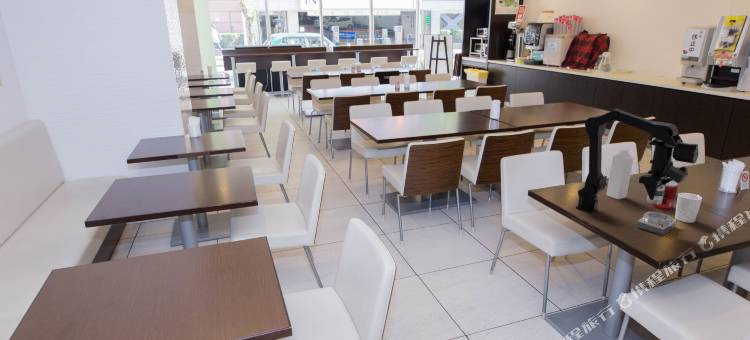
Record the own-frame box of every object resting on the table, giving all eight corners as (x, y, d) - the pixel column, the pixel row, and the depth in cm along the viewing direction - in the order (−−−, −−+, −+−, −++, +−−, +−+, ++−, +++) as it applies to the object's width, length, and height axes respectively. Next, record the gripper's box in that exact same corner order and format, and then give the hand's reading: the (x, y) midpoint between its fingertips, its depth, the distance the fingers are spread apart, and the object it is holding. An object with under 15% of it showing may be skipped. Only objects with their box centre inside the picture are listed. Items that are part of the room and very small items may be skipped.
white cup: (700, 224, 172) (706, 200, 169) (678, 222, 174) (683, 199, 171) (690, 216, 179) (696, 193, 176) (669, 214, 181) (674, 192, 178)
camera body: (636, 227, 169) (639, 216, 168) (650, 219, 176) (652, 209, 175) (662, 235, 163) (665, 224, 161) (675, 226, 170) (677, 216, 168)
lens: (643, 201, 167) (646, 183, 165) (649, 198, 170) (652, 180, 168) (658, 205, 163) (661, 186, 161) (664, 202, 166) (668, 184, 164)
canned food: (671, 204, 191) (676, 180, 188) (674, 211, 184) (679, 186, 181) (651, 202, 194) (655, 178, 191) (653, 208, 188) (658, 184, 184)
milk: (606, 195, 203) (613, 149, 196) (614, 193, 205) (622, 147, 199) (618, 199, 197) (626, 152, 191) (627, 197, 200) (635, 150, 193)
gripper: (676, 167, 150) (668, 210, 155) (697, 158, 161) (688, 198, 165) (641, 160, 159) (634, 201, 163) (663, 152, 169) (656, 190, 174)
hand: (654, 198), depth 166 cm, fingers closed on lens, 5 cm apart
